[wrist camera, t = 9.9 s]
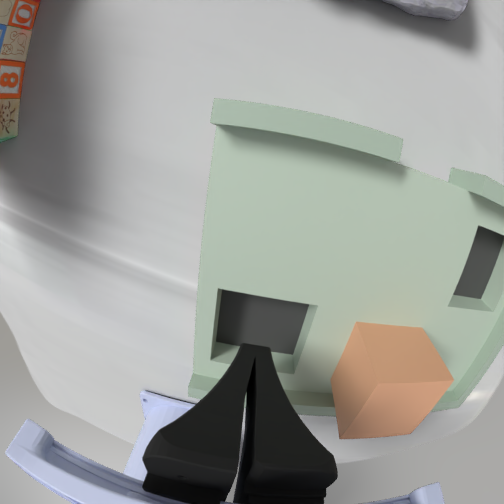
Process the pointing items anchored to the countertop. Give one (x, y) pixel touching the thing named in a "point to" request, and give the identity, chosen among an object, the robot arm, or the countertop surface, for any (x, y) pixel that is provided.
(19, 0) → the stack of blocks
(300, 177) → the board
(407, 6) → the stone block
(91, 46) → the countertop surface
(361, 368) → the block
